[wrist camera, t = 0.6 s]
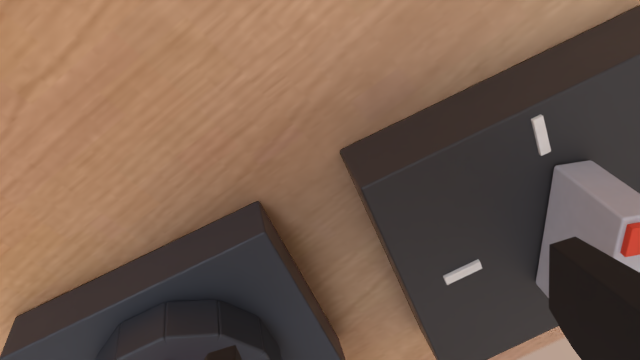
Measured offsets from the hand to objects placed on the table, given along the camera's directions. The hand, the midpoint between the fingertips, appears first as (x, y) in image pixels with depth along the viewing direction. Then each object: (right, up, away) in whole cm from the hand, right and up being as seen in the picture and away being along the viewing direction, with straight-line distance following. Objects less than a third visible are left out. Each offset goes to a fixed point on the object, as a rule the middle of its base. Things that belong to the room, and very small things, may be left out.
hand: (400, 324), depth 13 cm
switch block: (-7, -3, +10) cm, 13 cm away
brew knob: (+7, +2, +8) cm, 10 cm away
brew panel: (+6, +3, +10) cm, 12 cm away
